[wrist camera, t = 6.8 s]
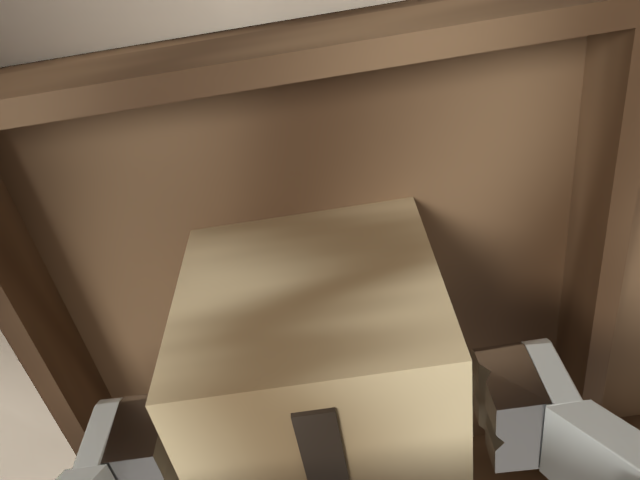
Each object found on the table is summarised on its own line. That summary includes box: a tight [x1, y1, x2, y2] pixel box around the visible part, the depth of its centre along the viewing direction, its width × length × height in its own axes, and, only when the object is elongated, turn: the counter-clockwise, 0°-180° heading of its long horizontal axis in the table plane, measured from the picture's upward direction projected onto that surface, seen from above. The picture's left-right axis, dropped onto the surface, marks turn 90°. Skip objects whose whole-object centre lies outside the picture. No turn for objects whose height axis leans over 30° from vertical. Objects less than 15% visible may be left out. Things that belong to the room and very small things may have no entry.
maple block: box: [145, 197, 473, 480], centre depth 12 cm, size 5×5×5 cm
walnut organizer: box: [0, 0, 640, 480], centre depth 14 cm, size 26×13×2 cm, turn 98°
